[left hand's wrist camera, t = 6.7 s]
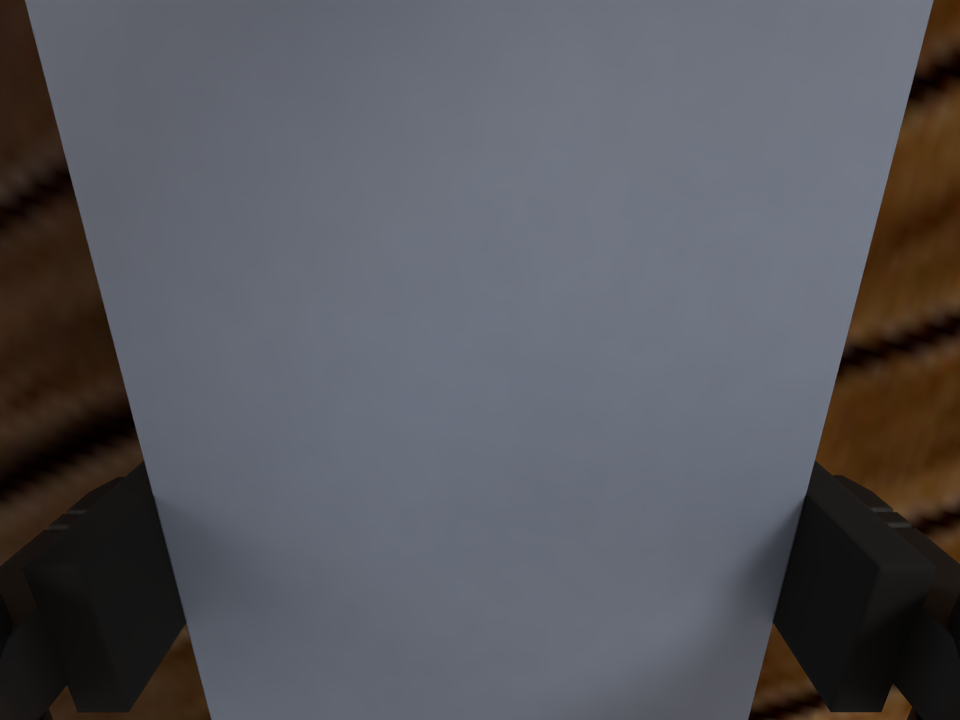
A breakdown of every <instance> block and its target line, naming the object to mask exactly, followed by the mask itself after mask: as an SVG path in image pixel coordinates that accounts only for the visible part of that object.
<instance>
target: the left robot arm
mask: <svg viewBox="0 0 960 720" xmlns="http://www.w3.org/2000/svg"><path fill="white" fill-rule="evenodd" d="M773 623H774V625H775V626H776V628H777V629H778V631H779V632H780V634H781V635H782V637H783V639H784V640H785V642H786V643H787V645H788V646H789V648H790V649H791V651H792V653H793V654H794V656H795V657H796V659H797V660H798V662H799V663H800V665H801V666H802V668H803V670H804V671H805V673H806V674H807V676H808V677H809V679H810V680H811V682H812V684H813V685H814V687H815V688H816V690H817V691H818V693H819V694H820V696H821V698H822V699H823V701H824V702H825V704H826V705H827V707H828V708H829V710H830V712H882V709H883V706H884V704H885V701H886V699H887V696H888V693H889V691H890V688H891V686H892V683H894V684H895V685H896V687H897V688H898V689H899V690H900V692H901V693H902V694H903V695H904V697H905V698H906V699H907V700H908V702H909V703H910V704H911V705H912V709H911V711H910V714H909V716H908V718H907V720H960V564H959V563H958V562H956V561H955V560H954V559H953V558H951V557H950V556H949V555H948V554H947V553H945V552H944V551H943V550H942V549H941V548H939V547H938V546H937V545H936V544H935V543H933V542H932V541H931V540H930V539H929V538H927V537H926V536H925V535H924V534H922V533H921V532H920V531H919V530H918V529H916V528H912V527H911V524H910V523H909V522H908V521H907V520H906V519H904V518H903V517H902V516H901V515H900V514H898V513H897V512H893V509H892V508H891V507H890V506H889V505H887V504H886V503H885V502H884V501H883V500H881V499H880V498H879V497H878V496H877V495H875V494H874V493H873V492H872V491H870V490H869V489H867V488H865V487H863V486H861V485H859V484H857V483H855V482H853V481H851V480H850V479H848V478H846V477H844V476H842V475H831V474H830V473H829V472H828V471H826V470H825V469H824V468H823V467H822V466H821V465H820V464H818V463H817V462H816V461H814V465H813V469H812V473H811V477H810V481H809V485H808V489H807V492H806V496H805V500H804V504H803V508H802V512H801V516H800V520H799V523H798V527H797V531H796V535H795V539H794V543H793V547H792V551H791V554H790V558H789V562H788V566H787V570H786V574H785V578H784V582H783V585H782V589H781V593H780V597H779V601H778V605H777V609H776V613H775V616H774V620H773ZM185 624H186V620H185V616H184V612H183V608H182V605H181V601H180V597H179V593H178V589H177V585H176V581H175V577H174V574H173V570H172V566H171V562H170V558H169V554H168V550H167V547H166V543H165V539H164V535H163V531H162V527H161V523H160V520H159V516H158V512H157V508H156V504H155V500H154V496H153V493H152V489H151V485H150V481H149V477H148V473H147V469H146V466H145V462H144V461H143V462H142V463H141V464H140V465H139V466H138V467H136V468H135V469H134V470H133V471H132V472H131V473H130V474H128V475H127V476H126V477H118V478H116V479H114V480H112V481H110V482H108V483H106V484H104V485H103V486H101V487H99V488H97V489H95V490H93V491H91V492H89V493H88V494H87V495H86V496H84V497H83V498H82V499H81V500H80V501H78V502H77V503H76V504H75V505H74V506H72V507H71V508H70V509H69V510H68V511H67V514H63V515H62V516H60V517H59V518H58V519H57V520H56V521H54V522H53V523H52V524H51V525H50V526H49V529H48V530H44V531H42V532H41V533H40V534H39V535H38V536H36V537H35V538H34V539H33V540H32V541H30V542H29V543H28V544H27V545H26V546H24V547H23V548H22V549H21V550H20V551H18V552H17V553H16V554H15V555H14V556H12V557H11V558H10V559H9V560H8V561H6V562H5V563H4V564H3V565H2V566H0V720H53V719H52V716H51V714H50V711H49V709H48V708H49V707H50V705H51V704H52V703H53V702H54V700H55V699H56V698H57V696H58V695H59V694H60V693H61V691H62V690H63V689H64V688H65V686H66V685H68V688H69V690H70V693H71V695H72V698H73V701H74V703H75V706H76V708H77V711H78V712H129V711H130V709H131V708H132V706H133V704H134V703H135V701H136V700H137V698H138V697H139V695H140V694H141V692H142V690H143V689H144V687H145V686H146V684H147V683H148V681H149V680H150V678H151V676H152V675H153V673H154V672H155V670H156V669H157V667H158V666H159V664H160V662H161V661H162V659H163V658H164V656H165V655H166V653H167V652H168V650H169V649H170V647H171V645H172V644H173V642H174V641H175V639H176V638H177V636H178V635H179V633H180V631H181V630H182V628H183V627H184V625H185Z"/></svg>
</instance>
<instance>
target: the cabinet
mask: <svg viewBox="0 0 960 720" xmlns="http://www.w3.org/2000/svg"><path fill="white" fill-rule="evenodd" d="M25 2H26V6H27V10H28V14H29V18H30V21H31V25H32V29H33V33H34V37H35V41H36V45H37V48H38V52H39V56H40V60H41V64H42V68H43V72H44V75H45V79H46V83H47V87H48V91H49V95H50V99H51V103H52V106H53V110H54V114H55V118H56V122H57V126H58V130H59V133H60V137H61V141H62V145H63V149H64V153H65V157H66V160H67V164H68V168H69V172H70V176H71V180H72V184H73V187H74V191H75V195H76V199H77V203H78V207H79V211H80V215H81V218H82V222H83V226H84V230H85V234H86V238H87V242H88V245H89V249H90V253H91V257H92V261H93V265H94V269H95V272H96V276H97V280H98V284H99V288H100V292H101V296H102V299H103V303H104V307H105V311H106V315H107V319H108V323H109V326H110V330H111V334H112V338H113V342H114V346H115V350H116V354H117V357H118V361H119V365H120V369H121V373H122V377H123V381H124V384H125V388H126V392H127V396H128V400H129V404H130V408H131V411H132V415H133V419H134V423H135V427H136V431H137V435H138V438H139V442H140V446H141V450H142V454H143V458H144V462H145V466H146V469H147V473H148V477H149V481H150V485H151V489H152V493H153V496H154V500H155V504H156V508H157V512H158V516H159V520H160V523H161V527H162V531H163V535H164V539H165V543H166V547H167V550H168V554H169V558H170V562H171V566H172V570H173V574H174V577H175V581H176V585H177V589H178V593H179V597H180V601H181V605H182V608H183V612H184V616H185V620H186V624H187V628H188V632H189V635H190V639H191V643H192V647H193V651H194V655H195V659H196V662H197V666H198V670H199V674H200V678H201V682H202V686H203V689H204V693H205V697H206V701H207V705H208V709H209V713H210V716H211V720H748V717H749V713H750V710H751V706H752V702H753V698H754V694H755V690H756V686H757V682H758V679H759V675H760V671H761V667H762V663H763V659H764V655H765V651H766V648H767V644H768V640H769V636H770V632H771V628H772V624H773V620H774V616H775V613H776V609H777V605H778V601H779V597H780V593H781V589H782V585H783V582H784V578H785V574H786V570H787V566H788V562H789V558H790V554H791V551H792V547H793V543H794V539H795V535H796V531H797V527H798V523H799V520H800V516H801V512H802V508H803V504H804V500H805V496H806V492H807V489H808V485H809V481H810V477H811V473H812V469H813V465H814V461H815V458H816V454H817V450H818V446H819V442H820V438H821V434H822V430H823V426H824V423H825V419H826V415H827V411H828V407H829V403H830V399H831V395H832V392H833V388H834V384H835V380H836V376H837V372H838V368H839V364H840V361H841V357H842V353H843V349H844V345H845V341H846V337H847V333H848V330H849V326H850V322H851V318H852V314H853V310H854V306H855V302H856V299H857V295H858V291H859V287H860V283H861V279H862V275H863V271H864V267H865V264H866V260H867V256H868V252H869V248H870V244H871V240H872V236H873V233H874V229H875V225H876V221H877V217H878V213H879V209H880V205H881V202H882V198H883V194H884V190H885V186H886V182H887V178H888V174H889V171H890V167H891V163H892V159H893V155H894V151H895V147H896V143H897V140H898V136H899V132H900V128H901V124H902V120H903V116H904V112H905V109H906V105H907V101H908V97H909V93H910V89H911V85H912V81H913V77H914V74H915V70H916V66H917V62H918V58H919V54H920V50H921V46H922V43H923V39H924V35H925V31H926V27H927V23H928V19H929V15H930V12H931V8H932V4H933V0H25Z"/></svg>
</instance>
